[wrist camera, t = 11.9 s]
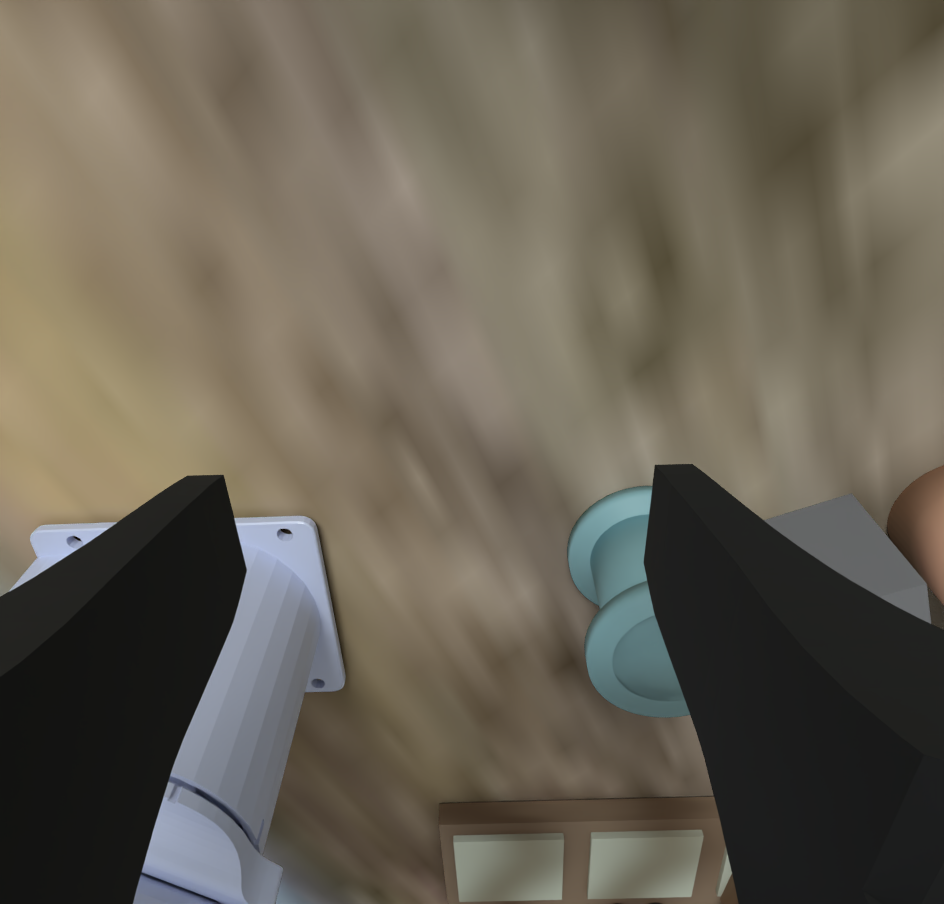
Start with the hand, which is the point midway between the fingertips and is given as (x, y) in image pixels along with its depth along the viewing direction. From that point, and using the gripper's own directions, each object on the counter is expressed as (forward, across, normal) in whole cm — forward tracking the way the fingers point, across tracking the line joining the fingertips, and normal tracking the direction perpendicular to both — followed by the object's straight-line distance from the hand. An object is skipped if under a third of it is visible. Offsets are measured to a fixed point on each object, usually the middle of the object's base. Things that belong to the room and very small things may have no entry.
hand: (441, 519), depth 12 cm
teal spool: (+10, -6, +8) cm, 14 cm away
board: (+9, -7, +26) cm, 29 cm away
